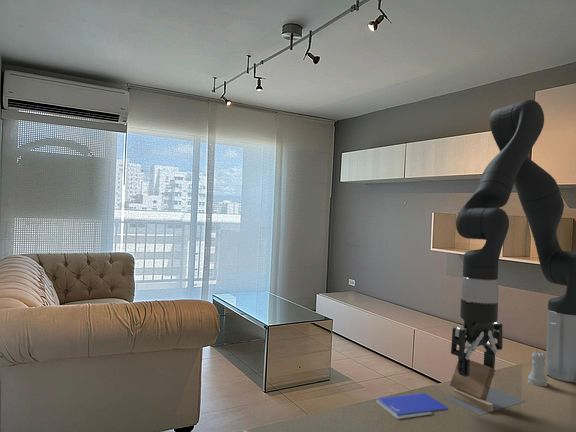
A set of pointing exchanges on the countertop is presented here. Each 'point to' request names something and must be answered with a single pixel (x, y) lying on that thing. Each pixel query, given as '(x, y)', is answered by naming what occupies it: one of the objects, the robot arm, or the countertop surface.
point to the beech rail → (473, 400)
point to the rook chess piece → (538, 370)
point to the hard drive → (410, 405)
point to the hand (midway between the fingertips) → (476, 372)
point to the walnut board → (474, 380)
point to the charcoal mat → (494, 397)
